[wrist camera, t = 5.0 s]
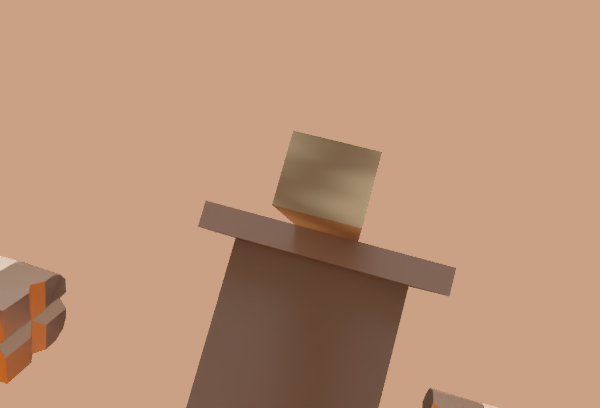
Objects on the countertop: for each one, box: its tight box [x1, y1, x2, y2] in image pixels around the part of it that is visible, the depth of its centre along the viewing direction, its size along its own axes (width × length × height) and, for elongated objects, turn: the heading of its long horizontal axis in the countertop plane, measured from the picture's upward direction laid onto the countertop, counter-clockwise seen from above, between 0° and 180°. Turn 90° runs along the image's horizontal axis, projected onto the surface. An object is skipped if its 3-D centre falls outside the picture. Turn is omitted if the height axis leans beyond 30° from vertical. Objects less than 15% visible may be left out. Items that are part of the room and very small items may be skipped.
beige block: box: [272, 131, 382, 242], centre depth 28 cm, size 4×19×3 cm, turn 174°
